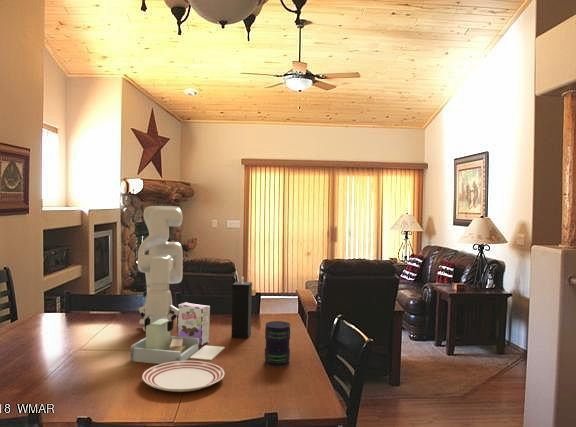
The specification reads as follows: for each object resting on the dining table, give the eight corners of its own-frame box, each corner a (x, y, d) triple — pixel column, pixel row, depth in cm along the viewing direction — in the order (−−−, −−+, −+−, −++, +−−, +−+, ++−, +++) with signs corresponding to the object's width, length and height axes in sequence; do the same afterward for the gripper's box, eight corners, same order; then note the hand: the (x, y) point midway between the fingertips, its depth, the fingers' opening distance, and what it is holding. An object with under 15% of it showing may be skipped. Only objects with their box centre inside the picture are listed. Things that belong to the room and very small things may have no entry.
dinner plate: (190, 362, 170) (191, 353, 170) (240, 381, 153) (241, 371, 153) (125, 383, 149) (125, 373, 149) (175, 407, 132) (175, 396, 132)
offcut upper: (169, 354, 171) (169, 346, 171) (172, 346, 181) (172, 338, 181) (180, 353, 172) (180, 346, 172) (182, 345, 182) (183, 338, 182)
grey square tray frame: (130, 361, 170) (130, 345, 170) (154, 346, 188) (155, 332, 188) (179, 365, 166) (179, 349, 166) (198, 350, 184) (199, 335, 184)
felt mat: (189, 358, 174) (189, 357, 174) (204, 346, 190) (204, 345, 190) (211, 360, 172) (211, 359, 172) (224, 347, 188) (224, 346, 188)
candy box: (176, 340, 197) (177, 304, 197) (185, 337, 202) (186, 301, 202) (201, 345, 190) (201, 307, 190) (209, 342, 196) (210, 305, 195)
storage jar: (267, 368, 165) (268, 328, 165) (261, 359, 175) (262, 321, 175) (292, 366, 168) (293, 327, 168) (286, 357, 178) (286, 320, 177)
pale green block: (145, 359, 172) (146, 326, 172) (160, 349, 184) (160, 318, 184) (156, 360, 171) (156, 326, 171) (170, 350, 183) (170, 319, 183)
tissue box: (251, 333, 210) (252, 275, 210) (247, 338, 202) (249, 277, 202) (234, 333, 211) (236, 274, 210) (231, 337, 203) (232, 277, 203)
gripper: (134, 287, 175) (134, 330, 175) (175, 289, 172) (174, 333, 172) (144, 284, 183) (143, 326, 183) (183, 286, 179) (182, 328, 179)
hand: (158, 329), depth 177 cm, fingers open, 9 cm apart
